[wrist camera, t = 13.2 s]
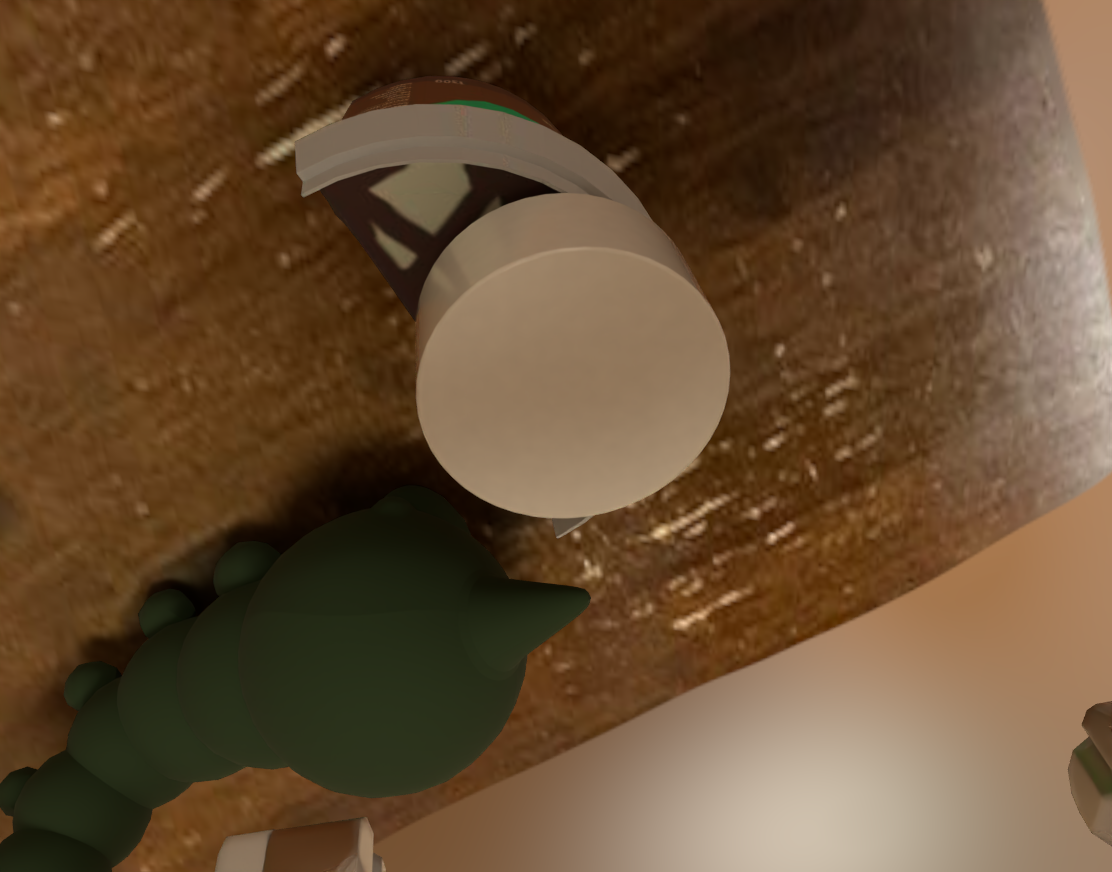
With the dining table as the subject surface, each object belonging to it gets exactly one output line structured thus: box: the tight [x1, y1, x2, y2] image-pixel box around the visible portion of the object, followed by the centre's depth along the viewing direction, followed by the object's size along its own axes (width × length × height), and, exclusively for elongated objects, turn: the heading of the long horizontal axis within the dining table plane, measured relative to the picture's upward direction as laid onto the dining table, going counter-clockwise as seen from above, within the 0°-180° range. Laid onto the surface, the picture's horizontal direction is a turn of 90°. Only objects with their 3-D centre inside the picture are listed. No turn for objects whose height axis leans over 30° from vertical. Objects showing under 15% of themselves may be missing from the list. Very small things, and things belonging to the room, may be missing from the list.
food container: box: [295, 76, 652, 538], centre depth 27 cm, size 12×6×10 cm, turn 28°
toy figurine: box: [0, 485, 591, 872], centre depth 32 cm, size 9×19×25 cm
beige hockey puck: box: [415, 193, 730, 518], centre depth 21 cm, size 7×7×3 cm
